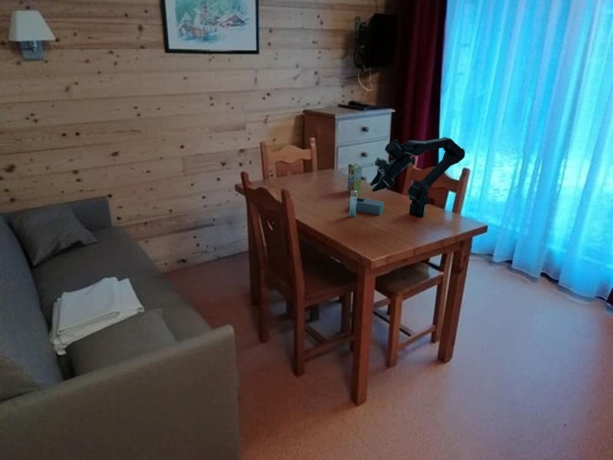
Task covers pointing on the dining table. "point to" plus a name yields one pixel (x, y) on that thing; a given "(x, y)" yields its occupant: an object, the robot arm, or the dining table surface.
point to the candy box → (354, 177)
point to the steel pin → (353, 203)
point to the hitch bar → (369, 206)
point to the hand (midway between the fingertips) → (371, 187)
